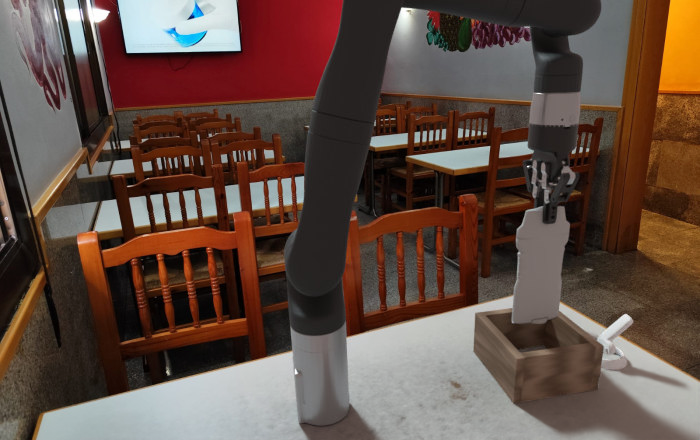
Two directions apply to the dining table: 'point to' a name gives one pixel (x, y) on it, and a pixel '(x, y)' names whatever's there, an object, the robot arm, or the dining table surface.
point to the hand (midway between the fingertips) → (544, 220)
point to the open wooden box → (537, 355)
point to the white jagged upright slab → (539, 267)
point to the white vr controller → (609, 346)
